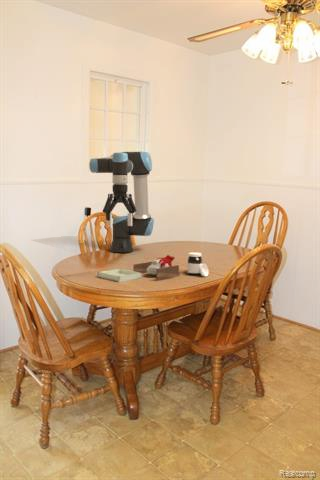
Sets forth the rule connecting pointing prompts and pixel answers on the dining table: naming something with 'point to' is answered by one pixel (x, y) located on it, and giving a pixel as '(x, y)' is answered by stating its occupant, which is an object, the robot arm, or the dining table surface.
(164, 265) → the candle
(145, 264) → the walnut holder
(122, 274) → the sage tray
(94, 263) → the dining table surface
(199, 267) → the spread jar
